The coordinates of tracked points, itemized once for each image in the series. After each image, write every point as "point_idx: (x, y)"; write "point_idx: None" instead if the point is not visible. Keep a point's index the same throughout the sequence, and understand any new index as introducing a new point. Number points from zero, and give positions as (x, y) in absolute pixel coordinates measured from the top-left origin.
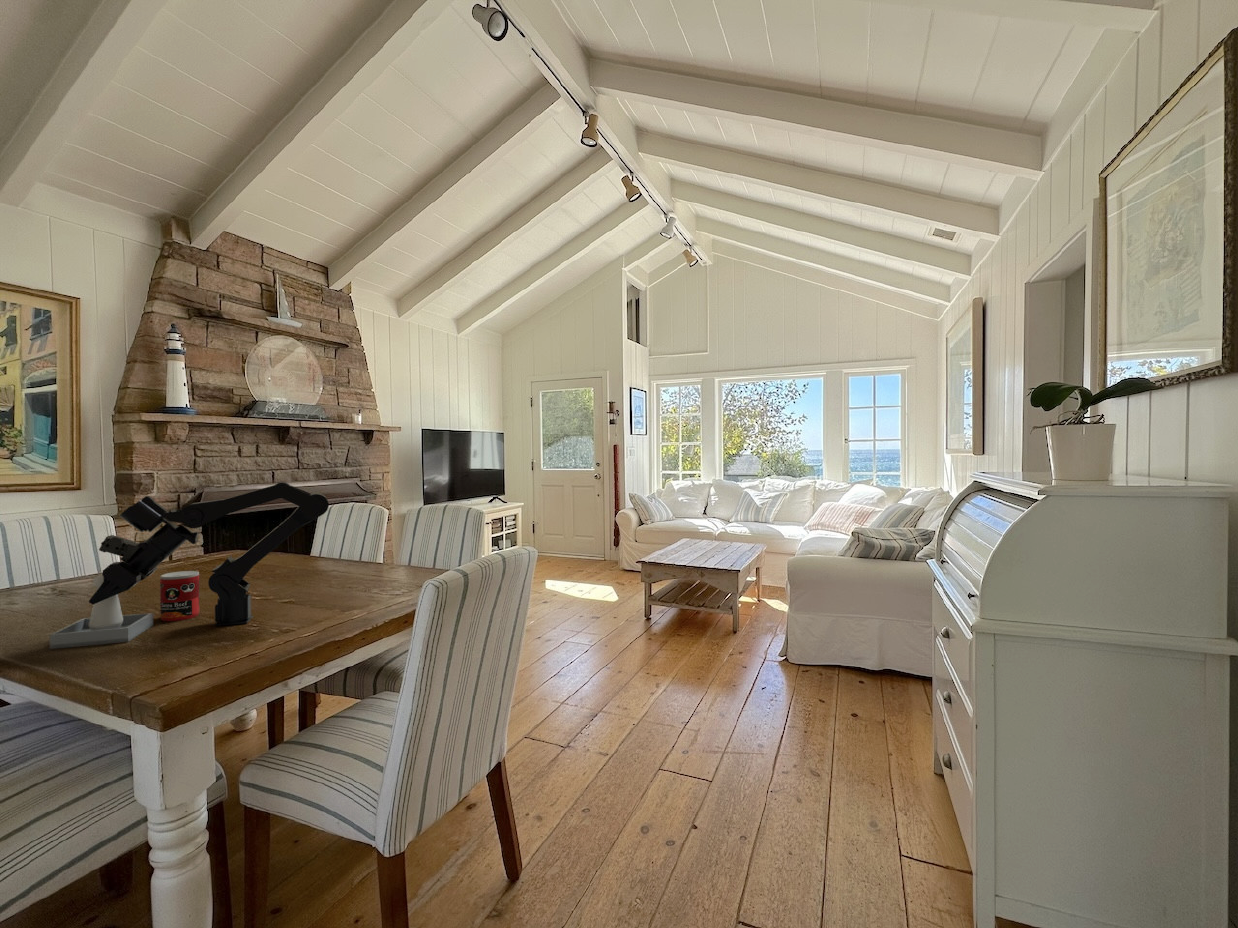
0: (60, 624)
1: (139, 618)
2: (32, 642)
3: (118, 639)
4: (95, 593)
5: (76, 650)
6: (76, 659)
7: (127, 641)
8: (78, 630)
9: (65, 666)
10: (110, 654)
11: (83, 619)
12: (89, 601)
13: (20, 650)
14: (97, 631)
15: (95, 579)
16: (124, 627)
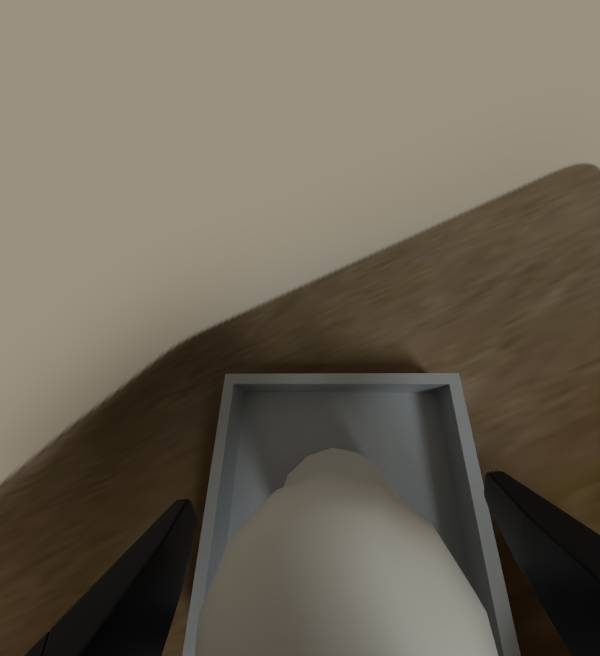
0: (554, 275)
1: None
2: (340, 307)
3: None
4: (105, 578)
5: (183, 475)
6: (68, 524)
7: None
8: (389, 392)
9: (10, 521)
10: None
11: (438, 383)
12: (175, 506)
13: (264, 319)
14: (202, 533)
15: (237, 535)
16: None
